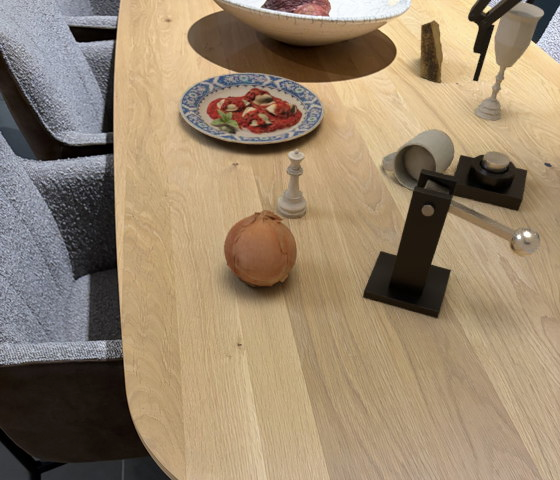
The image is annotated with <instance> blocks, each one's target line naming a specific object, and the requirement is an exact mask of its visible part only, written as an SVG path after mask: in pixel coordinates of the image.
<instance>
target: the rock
mask: <svg viewBox="0 0 560 480" xmlns="http://www.w3.org/2000/svg"><path fill="white" fill-rule="evenodd" d="M440 30H441V29H440V23H438V22H437V21H436V20H435V19H434V20H431V21H430V22H426V23H424V24H421V25H420V76H421V77H422V78H425V79H427V80H429V81H432V82H438V83H441V82H442V64H443V61H444V54H443V48H442V47H443V46H442V42H441V31H440Z"/></svg>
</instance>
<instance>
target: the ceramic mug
mask: <svg viewBox="0 0 560 480" xmlns="http://www.w3.org/2000/svg"><path fill="white" fill-rule="evenodd" d="M454 157H455V145H454V143H453V140H452V139H451V137H450V136H449V135H448V134H447V133H446V132H444V131H443V130H440V129H437V128H434V129H433V128H431V129H426V130H424V131H422V132H420V133H418V134H417V135H415V136H414V137H413V138H411V139H409V140H408V141H406V142H405V143H404V144H402V145H401V146H400V147H399V148H398V149H397V150H396V151H394V152H393V151H392V152H391V153H389V154H387V155H385V156H384V157H382V159H381V163H382V169H383V170H384V171H387V172H393V174H394V176H395V179H396V180H397V181H398V182H399V184H401V186H403V187H404V188H406V189H408V190H411V191H413V190H414V187H415V186H417V183H418V179H419V176H420V172H421V170H422V169H425V170H430V171H434V172H438V173H442V174H445V172H446V171H447V170H448V169H449V168H450V167H451V164H452V162H453V160H454Z"/></svg>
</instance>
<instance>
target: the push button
mask: <svg viewBox="0 0 560 480" xmlns="http://www.w3.org/2000/svg"><path fill="white" fill-rule="evenodd" d="M483 155H484V157H483V160H482V163H481V168H482V169H483V170H485V171H487V172H489V173H493V174H504V173H505V172H506V170H507V167H508V165H509V162H510V161H511V160H510V157H509V156H508V155H507V154H505V153H503V152H500V151H496V150H495V151H487V152H485V153H484V154H483Z"/></svg>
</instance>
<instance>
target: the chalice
mask: <svg viewBox="0 0 560 480" xmlns="http://www.w3.org/2000/svg"><path fill="white" fill-rule="evenodd" d="M544 15H545V12H544V10H543V9H542V8H540V7H539V6H537V5H535V4H531V3H528V2H523V1H521V2H519V3H518V4H517V5H516V6H514V7H513V8H512V9H511V10H509V11H508V12H507V13H506V14H504V15H503V16H502V17H501V18H499V20H498V25H497V28H496V31H495V34H494V38H493V39H494V55H495V63H496V65H497V66H499V71H498V72H497V74H496V75H495V83H494V84H493V85H492V86H491V90H492V91H491V95H490V96H489V97H487V98H484V99H483V100H482V101H481V103H479V104H478V106H477V107H476V108H475V110H474V114H475V115H476V116H477V117H478V118H480V119H482V120H487V121H497V120H500V119H502V109H501V106H502V104H501V103H500V101H499V100H498V98H497V96H498V93H499V92H500V91H502V87H501V84H502V82H503V81H504V80H505V72H506V70H507V69H508V68H512V67H513V66H514V65H515V64H516V63H517V62H518V60H520V58H521V57H522V56H523V55H524V54H525V52H526V50H527V49H528V48H529V47H530V45H531V42H532V40H533V37H534V34H535V31H536V29H537V26H538V22H539V21H540V20H541V18H543V16H544Z"/></svg>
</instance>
